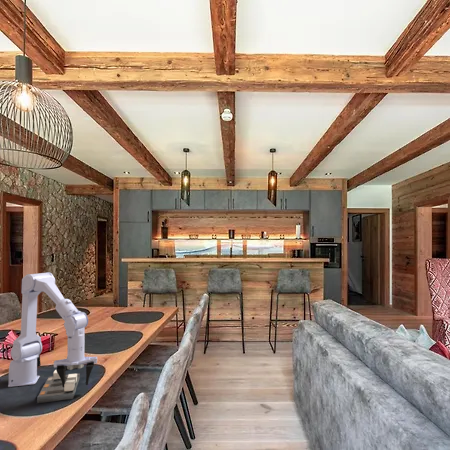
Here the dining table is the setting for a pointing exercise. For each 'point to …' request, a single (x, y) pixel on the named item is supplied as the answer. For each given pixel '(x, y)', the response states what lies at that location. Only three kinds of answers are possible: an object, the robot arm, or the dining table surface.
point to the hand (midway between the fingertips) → (75, 384)
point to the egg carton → (75, 366)
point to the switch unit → (55, 390)
